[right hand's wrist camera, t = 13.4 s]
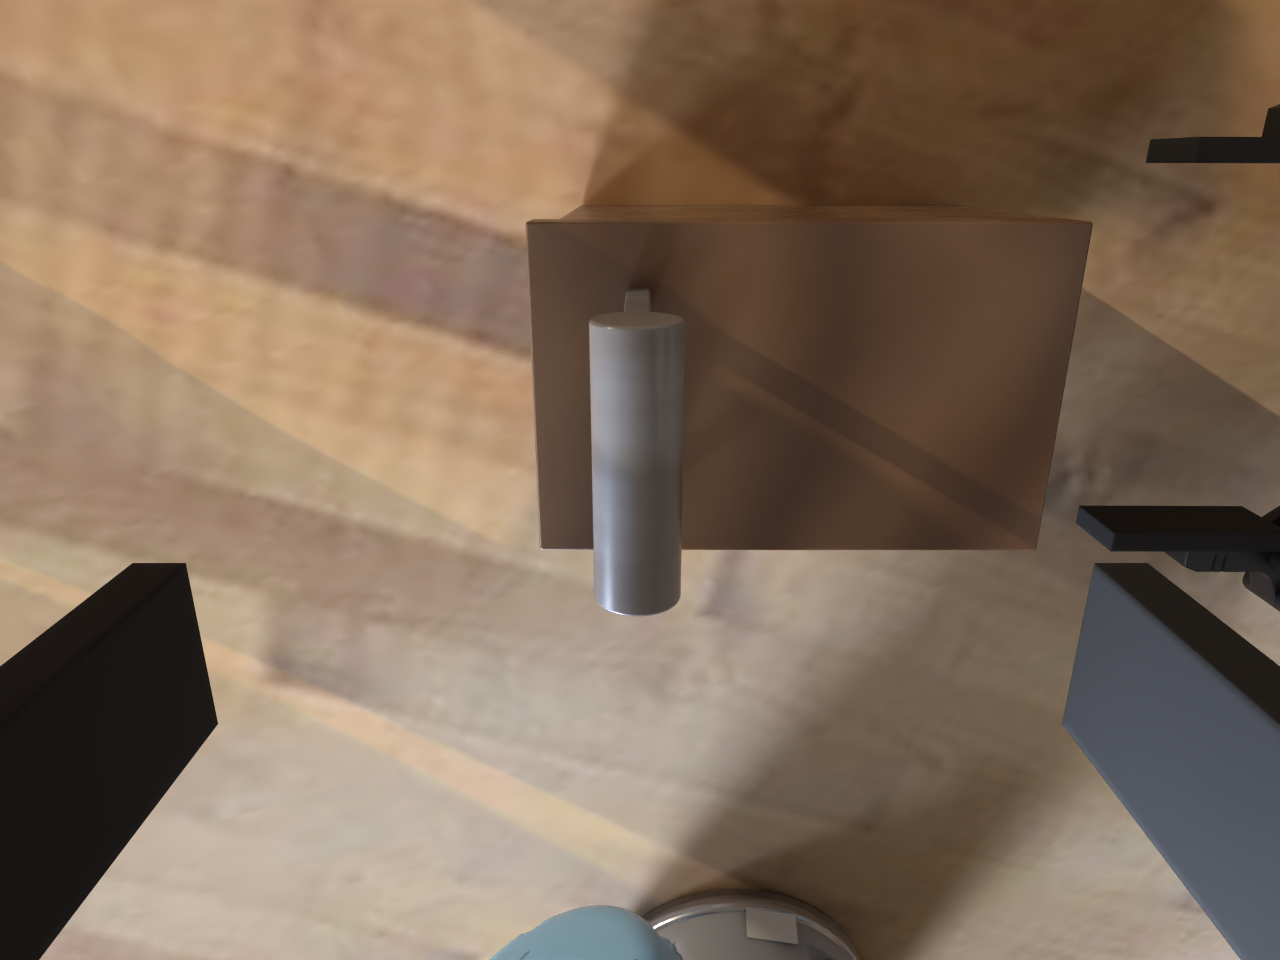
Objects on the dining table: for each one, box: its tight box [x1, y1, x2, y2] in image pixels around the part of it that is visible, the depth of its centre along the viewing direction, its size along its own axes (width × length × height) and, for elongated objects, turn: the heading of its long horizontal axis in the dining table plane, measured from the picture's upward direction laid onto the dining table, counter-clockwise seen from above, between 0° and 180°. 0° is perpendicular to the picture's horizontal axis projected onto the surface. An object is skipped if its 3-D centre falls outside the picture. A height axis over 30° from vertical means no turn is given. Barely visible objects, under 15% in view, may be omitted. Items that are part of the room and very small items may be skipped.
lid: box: [526, 219, 1093, 616], centre depth 23 cm, size 16×10×9 cm, turn 90°
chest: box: [561, 206, 1064, 219], centre depth 32 cm, size 15×10×10 cm
